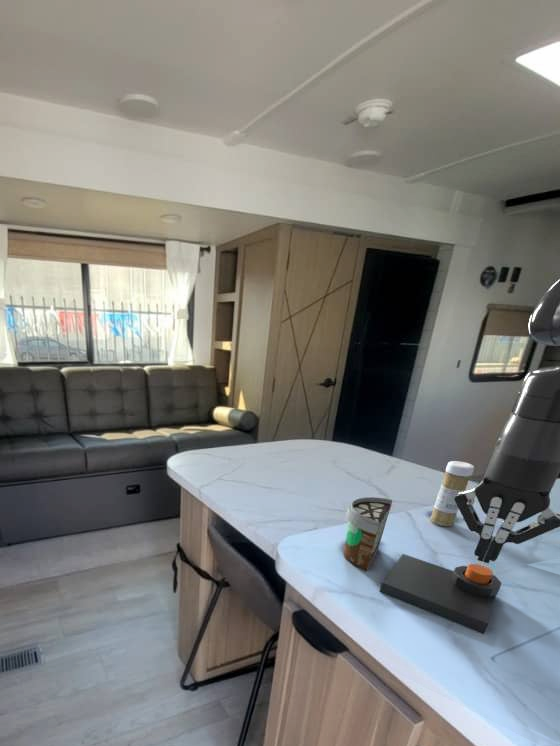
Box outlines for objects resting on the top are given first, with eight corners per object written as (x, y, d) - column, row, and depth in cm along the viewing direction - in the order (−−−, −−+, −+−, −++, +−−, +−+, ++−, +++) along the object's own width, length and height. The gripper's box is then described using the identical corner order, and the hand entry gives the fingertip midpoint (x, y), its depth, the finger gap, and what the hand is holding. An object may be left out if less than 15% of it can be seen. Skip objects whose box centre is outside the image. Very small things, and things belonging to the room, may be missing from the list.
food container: (346, 536, 81) (357, 490, 77) (379, 546, 78) (393, 499, 74) (328, 563, 72) (339, 512, 68) (364, 575, 69) (379, 523, 64)
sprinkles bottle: (452, 521, 89) (473, 462, 83) (453, 529, 85) (476, 469, 80) (428, 516, 91) (447, 458, 85) (429, 524, 87) (449, 464, 81)
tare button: (489, 578, 64) (494, 569, 63) (487, 587, 61) (491, 577, 61) (466, 570, 65) (469, 561, 65) (462, 578, 63) (466, 569, 62)
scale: (494, 594, 65) (503, 576, 64) (484, 634, 56) (493, 615, 55) (400, 561, 73) (406, 544, 72) (379, 592, 65) (384, 574, 63)
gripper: (595, 456, 53) (539, 566, 61) (476, 435, 61) (439, 536, 68) (598, 469, 48) (536, 588, 56) (467, 445, 56) (429, 553, 63)
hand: (483, 559), depth 62 cm, fingers closed
